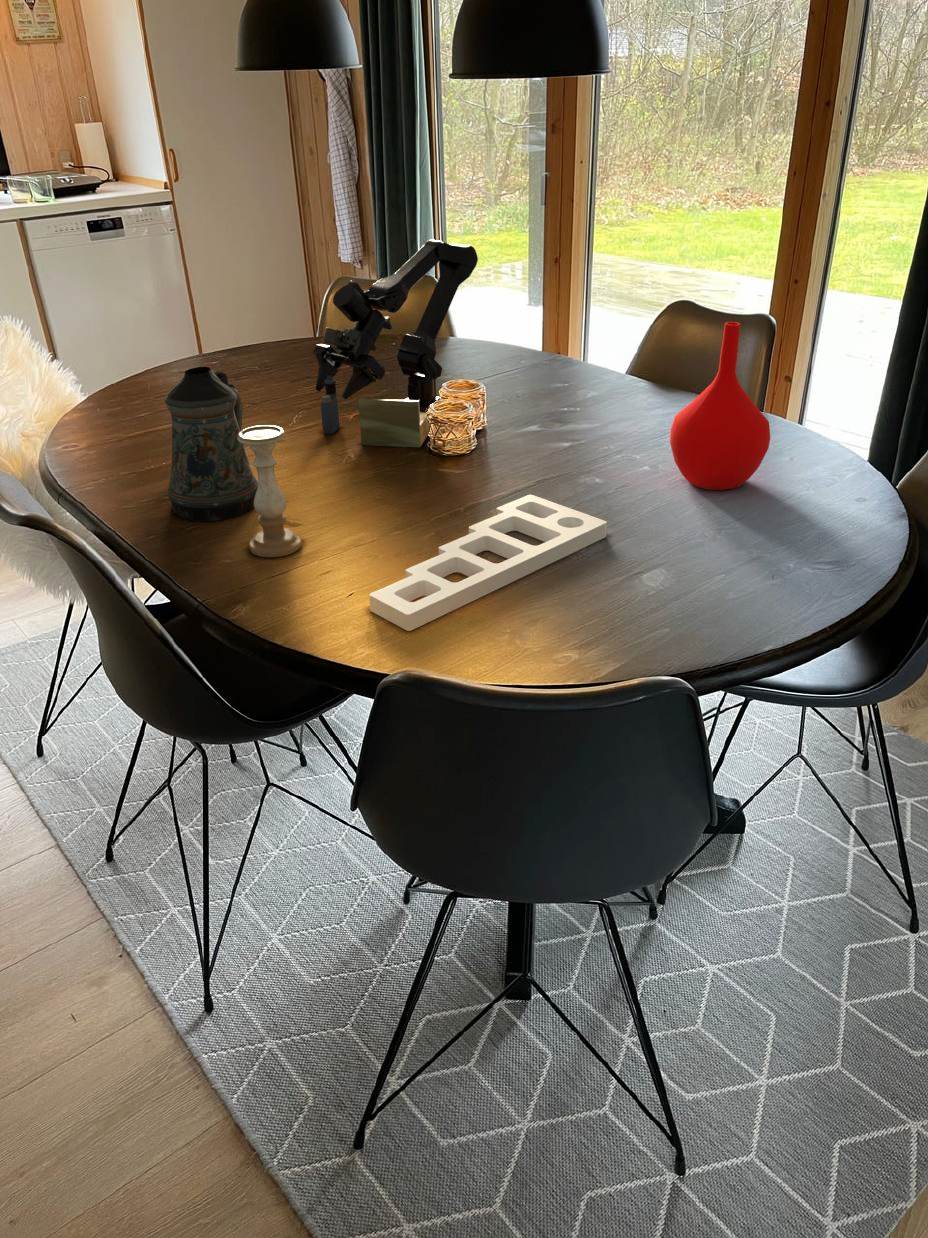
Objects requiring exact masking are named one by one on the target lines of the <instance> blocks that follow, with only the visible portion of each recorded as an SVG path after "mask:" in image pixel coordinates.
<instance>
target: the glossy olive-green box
mask: <svg viewBox="0 0 928 1238" xmlns="http://www.w3.org/2000/svg"><path fill="white" fill-rule="evenodd" d="M357 402H358V415H359V428H360V441H361V442H360V443H361V446H376V447H377V446H378V447H401V448H421V447H422V445H423V444H424V442H425V441H426V439H427V437H428V435H430V433H429V426H430V422H429V423H428V419H427V413H428V412H421V411H420V405H419V400H405V399H389V398H388V399H387V398H383V399H382V398H358V399H357Z"/></svg>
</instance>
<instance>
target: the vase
mask: <svg viewBox="0 0 928 1238" xmlns="http://www.w3.org/2000/svg"><path fill="white" fill-rule="evenodd" d="M740 330H741V323H740V322H737V321H726V322H724V328H723V335H722V343H721V349H720V356H719V366H718V371H717V373H716V375H715V377H714V379H713V381H712V382H711V383H710V384H709V385H708V386H707V387H706V388H705V389H704V390H703V391H702V392H701V393H700V394H699V395H698V396H696V397H695V399H693V400H692V401H691V402H690V403H689V404H688V405H686V406H685V407H684V408H682V410H680V411H679V412H678V413H677V414H676V415H675V416H674V417H673V420H672V424H671V428H670V433H669V445H670V449H671V453H672V458H673V461H674V463H675V465H676V467H677V468H678V470H679V472H680V473H681V475H682V476H683V477H684V478H685V480H686V481H688V483H690V484H691V485H692V486H695V487H697V488H701V489H705V490H711V491H725V490H732V489H736V488H738V487H740V486H741V485H743V484H744V483H745V482H747V481H749V479H750V478H751V477H752V476H753V475H754V474H755V472H756V471H758V469H759V467H760V466H761V464H762V462H763V460H764V458H765V456H766V455H767V452H768V450H769V448H770V442H771V429H770V421H769V419H767V418H766V416H765V415H764V414H763V412H762V411H761V410H760V409H759V408H758V407H757V406H756V404H755V403H754V402H753V400H752V399H751V398H750V397H749V395H748V394H747V392H746V391H745V390H744V388H743V387H742V386H741V384H740V382H739V380H738V379H739V378H738V377H737V370H736V369H737V362H738V353H739V351H738V350H739V340H740Z"/></svg>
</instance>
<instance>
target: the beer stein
mask: <svg viewBox="0 0 928 1238" xmlns="http://www.w3.org/2000/svg"><path fill="white" fill-rule="evenodd" d="M164 403H165V405H166V408H167V410H168V411H169V413H170V417H171V469H170V478H169V484H168V488H167V497H168V499H169V501H170V503H171V504H170V505H171V507H172V510H173V512H174V513H175V514H176V515H177V516H179V517H180V518H183V519H186V520H191V521H194V522H195V521H197V522H198V521H199V522H201V521H202V522H216V521H221V520H226V519H230V518H235V517H239V516H241V515H244V514H246V513H248V512H250V511H252V510H253V509H254V497H255V494H256V491H257V488H258V478H257V477H255V474H254V473H253V470H252V467H251V465H250V462H249V458H248V455H247V450H246V447H245V446H246V445H245V444H242V443H240V442H239V441H238V439H237V435H238V433H239V432H240V431H241V430H242V426H243V403H242V398H241V395H240V393H239V392H238V391H237V389H236V387H235V385H234V384H232V383H231V382H229V379H228V375H227V374H226V373H225V372H223V371H217V370H212V369H211V367H209V366H197V367H192V368H189V369H187V370H185V371H184V374H183V377H182V379H181V380H180V381H179V382H178V383H177V384H176V385H175V386H174V387H173V388H172V389H171V390H170V391H169V392H168V393H167V396H166V397H165V400H164Z"/></svg>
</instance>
